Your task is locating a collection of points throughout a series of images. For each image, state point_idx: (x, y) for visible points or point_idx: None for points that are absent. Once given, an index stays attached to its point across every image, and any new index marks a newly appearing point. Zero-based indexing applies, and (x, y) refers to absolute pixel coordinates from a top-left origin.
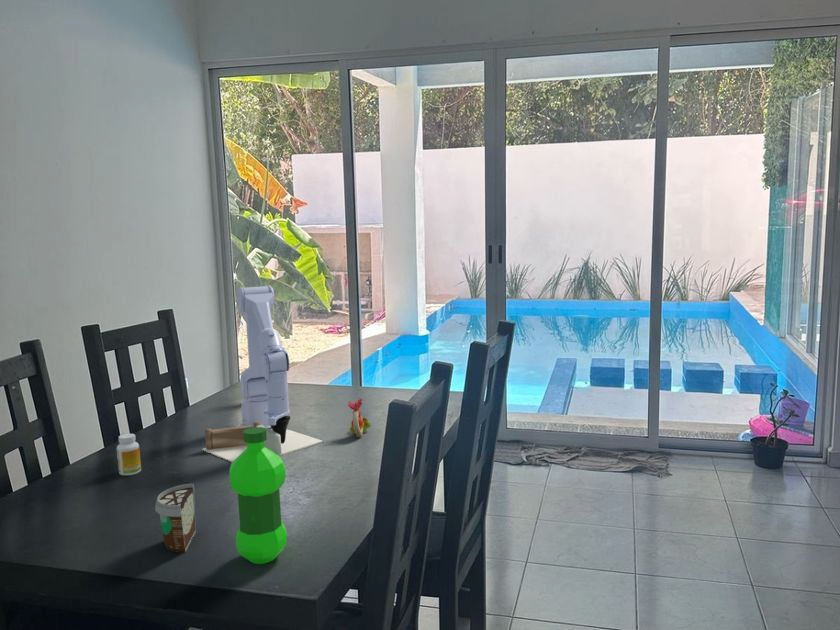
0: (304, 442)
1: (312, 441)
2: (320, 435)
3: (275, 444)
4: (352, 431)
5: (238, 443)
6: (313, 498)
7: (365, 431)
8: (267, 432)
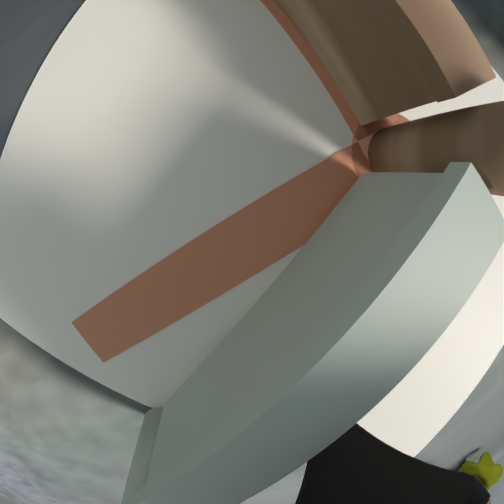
0: (397, 426)
1: (406, 442)
2: (482, 402)
3: (130, 468)
4: (466, 468)
5: (300, 19)
6: (3, 496)
7: None
8: (191, 469)
